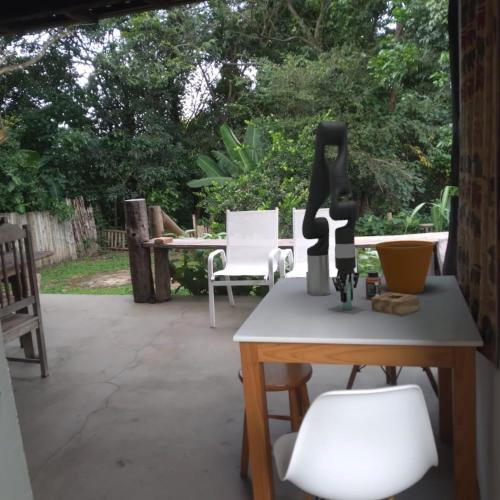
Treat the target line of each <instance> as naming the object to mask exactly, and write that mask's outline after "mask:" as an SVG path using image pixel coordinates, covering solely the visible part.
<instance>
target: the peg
mask: <svg viewBox="0 0 500 500" xmlns="http://www.w3.org/2000/svg"><path fill="white" fill-rule="evenodd" d="M342 284H345V283H342ZM342 288H343V289H344V287H343V286H342ZM346 293H347V302H346V303H343V302H342V305H343V310H351V306H352V301H351V284H350V282H348V286H347V290H346Z"/></svg>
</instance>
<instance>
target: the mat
mask: <svg viewBox="0 0 500 500" xmlns="http://www.w3.org/2000/svg"><path fill="white" fill-rule="evenodd" d="M366 310H367V311H368V308H363V307H357V306H352V305H351V310H343V304H339V305H337V306H334V307H330V308H328V309H327V311H332V312H338V313H342V314H343V313H344V314H348V315H356V314H359V313H362V312H364V311H366Z"/></svg>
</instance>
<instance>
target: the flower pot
mask: <svg viewBox="0 0 500 500" xmlns="http://www.w3.org/2000/svg"><path fill="white" fill-rule="evenodd" d="M434 248H435V243H434V242H432V241H427V240H414V239H413V240H409V239H408V240H391V241H383V242H378V243H375V250H376V253H377V255H378V259H379V262H380V267H381V270H382V274H383V277H384V280H385V284H386V288H387V290H388V291H389V292H394V293H401V294H417V293H418V294H419V293H422V292H424V289H425V284H426V281H427V277H428V272H429V268H430V264H431V260H432V256H433V252H434Z"/></svg>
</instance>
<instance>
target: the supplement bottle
mask: <svg viewBox="0 0 500 500" xmlns="http://www.w3.org/2000/svg"><path fill="white" fill-rule="evenodd" d="M367 275H368V276H366V277H365V299H366V300H369V301H371V298H373V297H376V296H379V295H382V279H381V277H380V276H379V271H377V270H371V271H370V270H369V271H368V272H367Z"/></svg>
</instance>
